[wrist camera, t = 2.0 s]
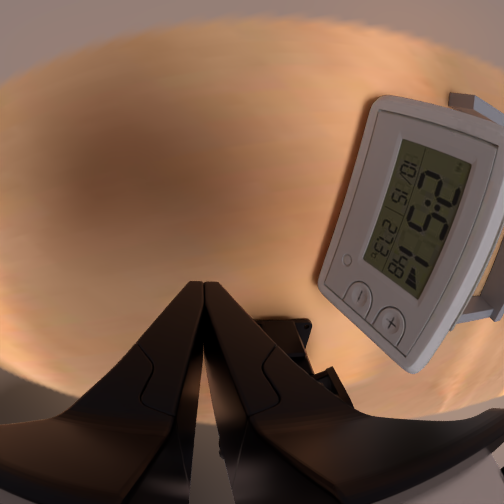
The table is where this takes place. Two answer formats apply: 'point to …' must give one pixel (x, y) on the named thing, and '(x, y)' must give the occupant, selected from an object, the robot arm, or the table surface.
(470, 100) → the gray bracket
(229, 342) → the robot arm
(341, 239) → the digital clock
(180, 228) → the table surface
